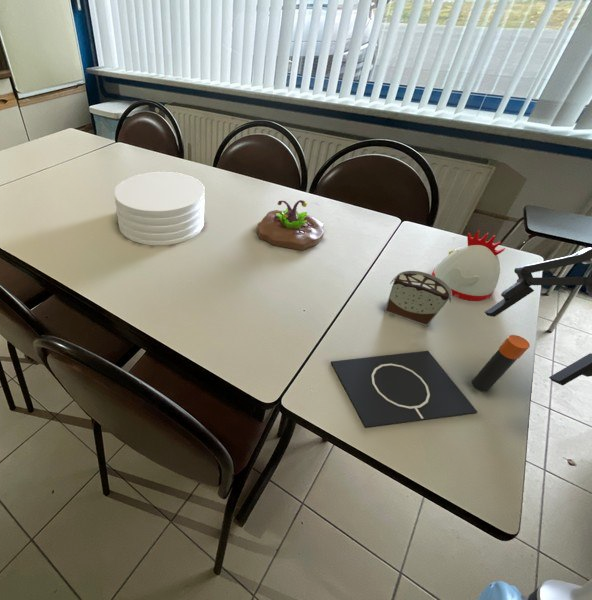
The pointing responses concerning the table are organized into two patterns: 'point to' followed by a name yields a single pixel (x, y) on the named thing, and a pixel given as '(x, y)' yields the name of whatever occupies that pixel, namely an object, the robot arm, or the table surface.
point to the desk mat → (400, 389)
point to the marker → (500, 362)
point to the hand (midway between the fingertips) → (521, 347)
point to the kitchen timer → (471, 269)
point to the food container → (417, 296)
